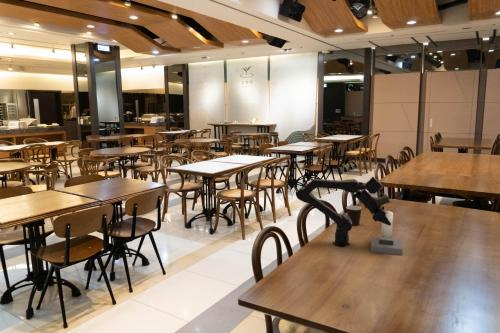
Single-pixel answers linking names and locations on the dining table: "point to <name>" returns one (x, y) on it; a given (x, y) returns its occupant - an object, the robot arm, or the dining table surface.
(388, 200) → the robot arm
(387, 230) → the peg
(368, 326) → the dining table surface
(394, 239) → the collar block
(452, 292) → the dining table surface
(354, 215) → the coffee mug
